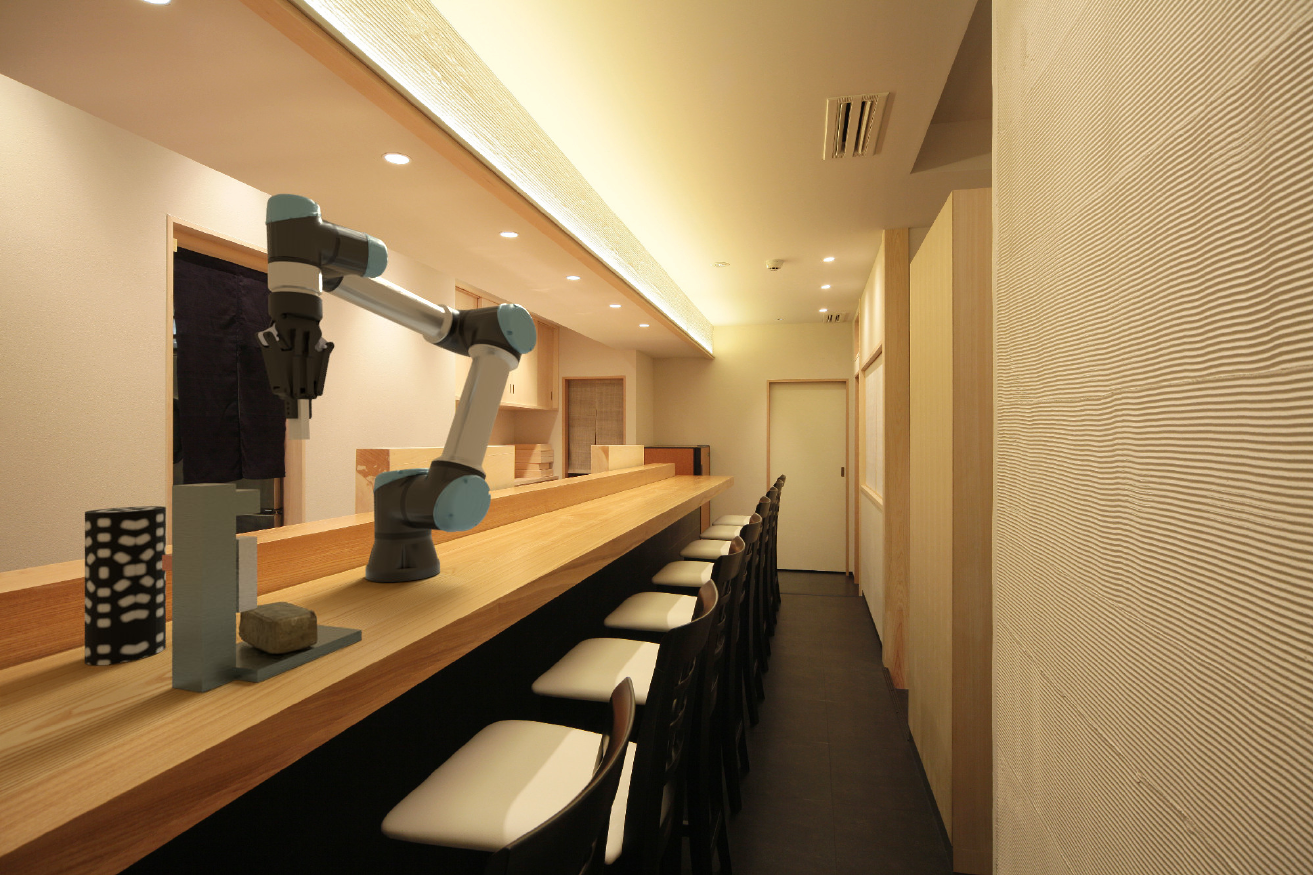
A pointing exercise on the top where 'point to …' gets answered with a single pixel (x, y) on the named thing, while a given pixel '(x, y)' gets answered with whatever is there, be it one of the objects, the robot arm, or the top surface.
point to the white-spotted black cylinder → (124, 584)
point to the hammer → (238, 572)
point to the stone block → (279, 627)
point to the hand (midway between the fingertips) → (299, 439)
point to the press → (220, 595)
